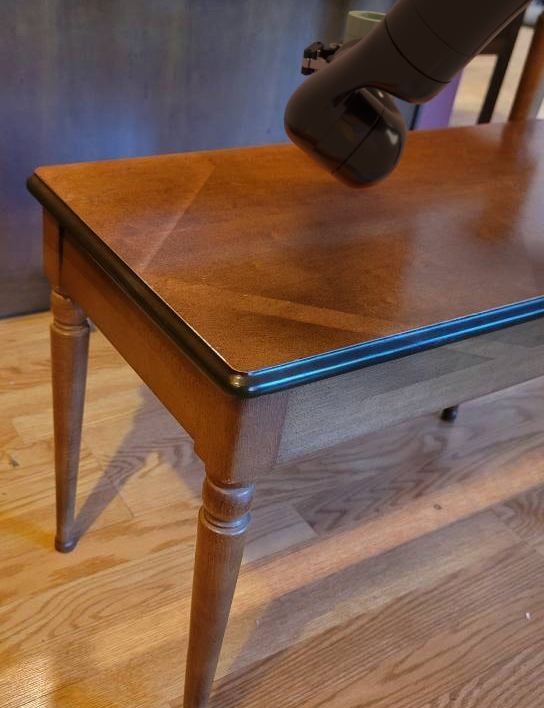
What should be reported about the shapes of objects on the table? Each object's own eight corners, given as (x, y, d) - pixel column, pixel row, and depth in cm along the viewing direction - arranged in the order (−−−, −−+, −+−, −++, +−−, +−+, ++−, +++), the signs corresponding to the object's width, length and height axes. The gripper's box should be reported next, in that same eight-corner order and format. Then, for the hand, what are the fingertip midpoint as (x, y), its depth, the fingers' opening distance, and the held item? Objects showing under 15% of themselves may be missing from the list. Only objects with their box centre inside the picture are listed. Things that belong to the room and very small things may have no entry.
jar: (382, 112, 94) (403, 16, 87) (379, 126, 89) (401, 25, 82) (333, 104, 94) (350, 8, 88) (328, 117, 89) (346, 16, 83)
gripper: (438, 57, 73) (436, 28, 87) (295, 35, 75) (314, 9, 88) (419, 134, 78) (419, 95, 91) (284, 111, 79) (304, 76, 92)
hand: (368, 53), depth 89 cm, fingers closed on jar, 6 cm apart
